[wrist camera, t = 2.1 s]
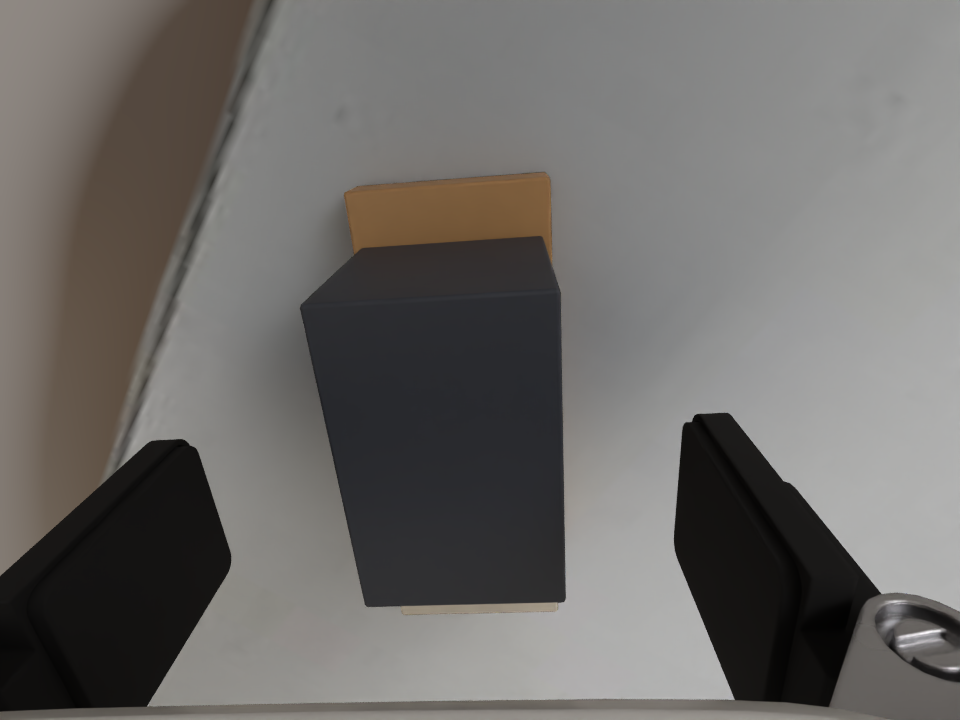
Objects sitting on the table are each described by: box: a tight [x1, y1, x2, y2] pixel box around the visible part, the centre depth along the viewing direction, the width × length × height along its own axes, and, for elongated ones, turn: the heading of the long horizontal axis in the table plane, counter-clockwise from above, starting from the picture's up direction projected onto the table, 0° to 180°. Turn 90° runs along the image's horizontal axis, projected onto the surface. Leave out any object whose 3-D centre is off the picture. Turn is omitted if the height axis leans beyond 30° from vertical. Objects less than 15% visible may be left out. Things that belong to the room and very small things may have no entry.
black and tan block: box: [300, 172, 566, 615], centre depth 13 cm, size 12×5×6 cm, turn 4°
